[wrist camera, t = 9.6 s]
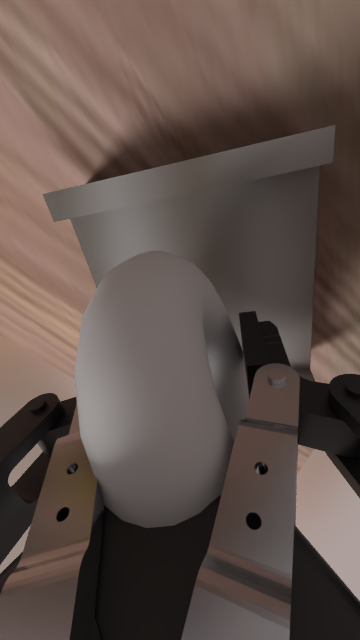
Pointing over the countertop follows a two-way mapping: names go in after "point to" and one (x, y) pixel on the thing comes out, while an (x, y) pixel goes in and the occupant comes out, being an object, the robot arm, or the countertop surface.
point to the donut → (159, 389)
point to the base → (219, 226)
